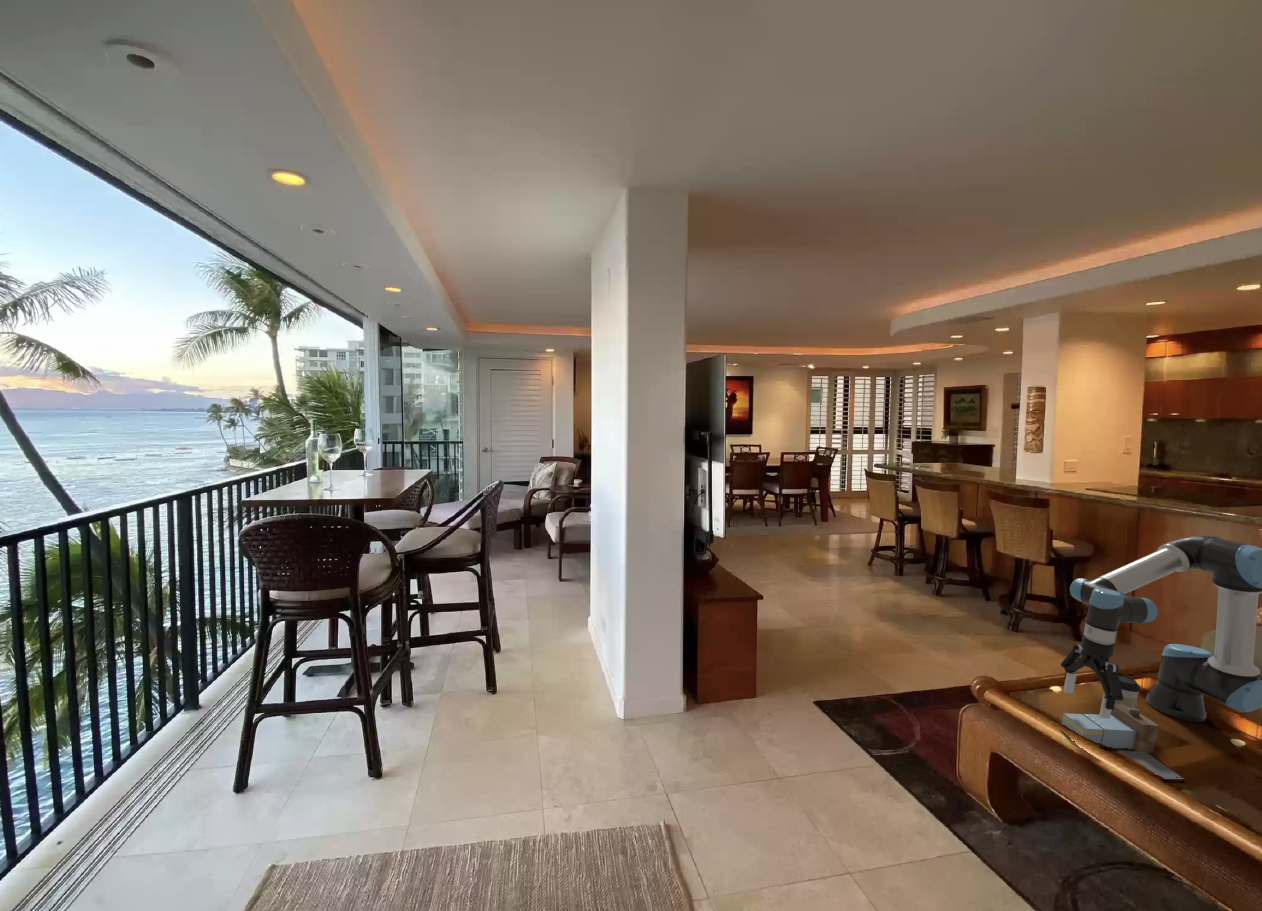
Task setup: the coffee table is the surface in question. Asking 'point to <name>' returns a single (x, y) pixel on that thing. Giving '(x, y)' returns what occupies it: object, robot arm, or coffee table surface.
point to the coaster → (1151, 764)
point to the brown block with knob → (1138, 727)
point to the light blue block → (1083, 726)
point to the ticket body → (1114, 731)
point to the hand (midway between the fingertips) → (1085, 704)
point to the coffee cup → (1128, 691)
